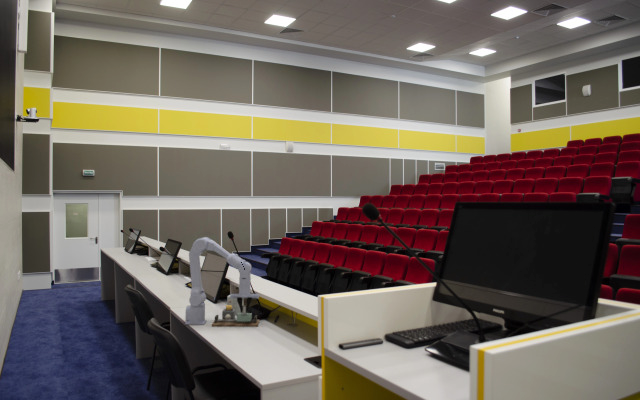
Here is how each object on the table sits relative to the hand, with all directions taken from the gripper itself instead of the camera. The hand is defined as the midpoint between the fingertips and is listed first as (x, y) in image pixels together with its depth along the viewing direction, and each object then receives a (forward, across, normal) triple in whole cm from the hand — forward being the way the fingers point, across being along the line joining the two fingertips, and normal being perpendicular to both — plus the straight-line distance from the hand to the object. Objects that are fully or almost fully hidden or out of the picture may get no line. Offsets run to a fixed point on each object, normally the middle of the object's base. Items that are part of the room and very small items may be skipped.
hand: (244, 312), depth 234 cm
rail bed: (+6, -4, 0) cm, 7 cm away
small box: (+6, -7, +20) cm, 22 cm away
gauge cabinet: (+6, -9, +9) cm, 14 cm away
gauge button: (+1, -9, +9) cm, 13 cm away
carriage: (+4, 0, 0) cm, 4 cm away
